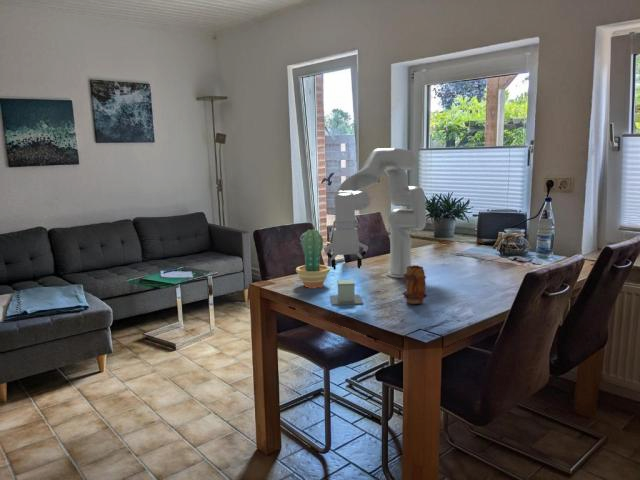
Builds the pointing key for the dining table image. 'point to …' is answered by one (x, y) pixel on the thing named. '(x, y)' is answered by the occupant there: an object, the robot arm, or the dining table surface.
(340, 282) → the tea tin
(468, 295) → the dining table surface
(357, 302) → the slate coaster
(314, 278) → the potted cactus
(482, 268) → the dining table surface
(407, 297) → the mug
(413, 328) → the dining table surface
